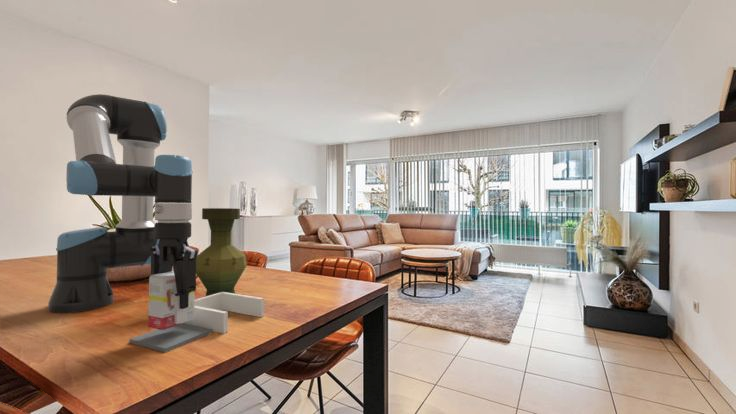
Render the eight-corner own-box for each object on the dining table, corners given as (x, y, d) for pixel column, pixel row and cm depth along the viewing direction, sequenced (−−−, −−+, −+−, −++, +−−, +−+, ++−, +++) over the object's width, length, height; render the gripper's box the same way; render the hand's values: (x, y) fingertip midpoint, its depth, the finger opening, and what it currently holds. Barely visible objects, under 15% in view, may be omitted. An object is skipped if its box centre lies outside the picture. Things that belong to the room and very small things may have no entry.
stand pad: (129, 342, 75) (129, 338, 75) (178, 325, 86) (178, 322, 86) (165, 352, 71) (165, 348, 71) (212, 332, 82) (212, 329, 82)
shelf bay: (178, 323, 88) (178, 304, 88) (222, 308, 101) (222, 291, 101) (223, 333, 81) (223, 313, 81) (264, 315, 94) (264, 298, 94)
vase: (229, 290, 122) (230, 208, 121) (256, 297, 112) (257, 208, 112) (183, 300, 108) (183, 208, 108) (209, 310, 99) (210, 209, 99)
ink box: (161, 331, 74) (162, 277, 73) (147, 327, 76) (147, 275, 75) (195, 319, 81) (196, 270, 81) (181, 316, 83) (182, 269, 83)
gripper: (132, 221, 79) (131, 319, 79) (185, 223, 71) (184, 331, 72) (163, 219, 85) (162, 310, 86) (214, 221, 78) (213, 320, 78)
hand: (172, 319), depth 79 cm, fingers closed on ink box, 5 cm apart
